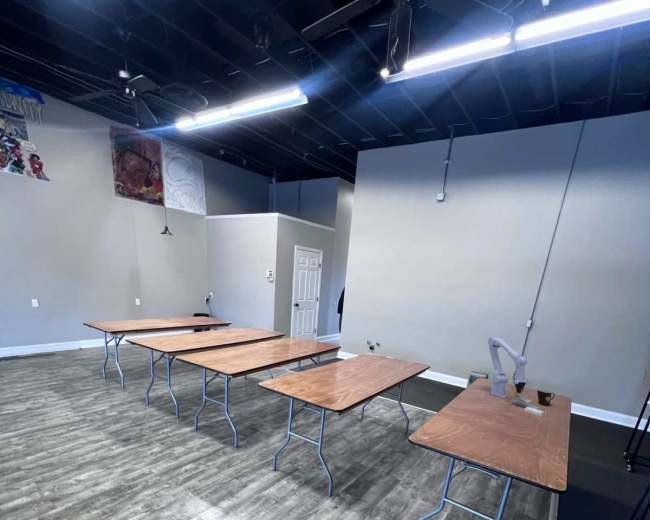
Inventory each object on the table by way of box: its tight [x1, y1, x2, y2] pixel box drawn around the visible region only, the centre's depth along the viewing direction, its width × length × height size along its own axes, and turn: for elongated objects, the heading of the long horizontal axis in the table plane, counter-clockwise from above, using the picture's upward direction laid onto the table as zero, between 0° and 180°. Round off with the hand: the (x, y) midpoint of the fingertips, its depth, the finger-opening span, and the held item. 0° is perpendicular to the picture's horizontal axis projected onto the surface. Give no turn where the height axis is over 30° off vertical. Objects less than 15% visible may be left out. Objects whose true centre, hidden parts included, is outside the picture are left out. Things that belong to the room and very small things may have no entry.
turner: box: [513, 386, 533, 404], centre depth 212 cm, size 10×6×7 cm, turn 38°
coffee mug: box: [536, 388, 556, 407], centre depth 217 cm, size 12×9×10 cm
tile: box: [524, 407, 545, 417], centre depth 201 cm, size 2×7×9 cm
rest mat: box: [510, 398, 540, 410], centre depth 214 cm, size 16×8×1 cm, turn 39°
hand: (519, 392), depth 213 cm, fingers closed on turner, 2 cm apart
